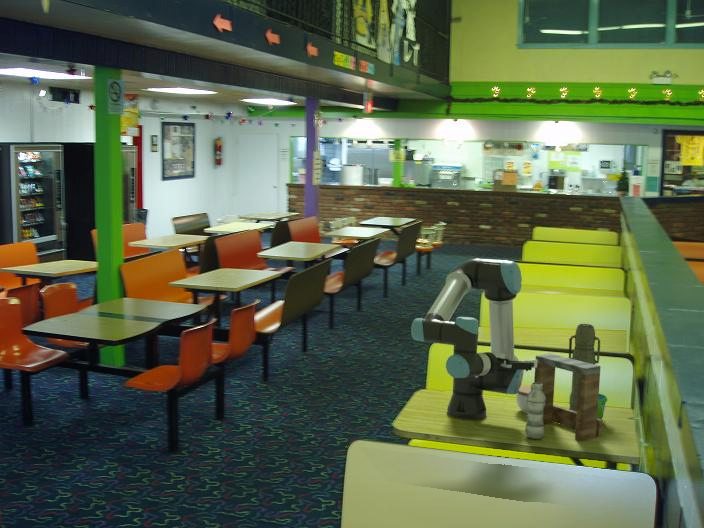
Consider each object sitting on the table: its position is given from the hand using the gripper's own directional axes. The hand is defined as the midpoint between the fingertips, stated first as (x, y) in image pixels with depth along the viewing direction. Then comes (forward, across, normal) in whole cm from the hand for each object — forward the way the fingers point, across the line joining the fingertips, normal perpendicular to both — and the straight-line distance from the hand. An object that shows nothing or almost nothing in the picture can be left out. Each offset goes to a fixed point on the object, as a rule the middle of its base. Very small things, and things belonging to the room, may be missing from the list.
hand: (519, 360), depth 282 cm
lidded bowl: (+36, -18, -26) cm, 48 cm away
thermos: (+54, -6, -25) cm, 60 cm away
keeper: (+27, +4, -27) cm, 38 cm away
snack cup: (+44, +4, -26) cm, 51 cm away
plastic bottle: (+10, +2, -28) cm, 30 cm away
